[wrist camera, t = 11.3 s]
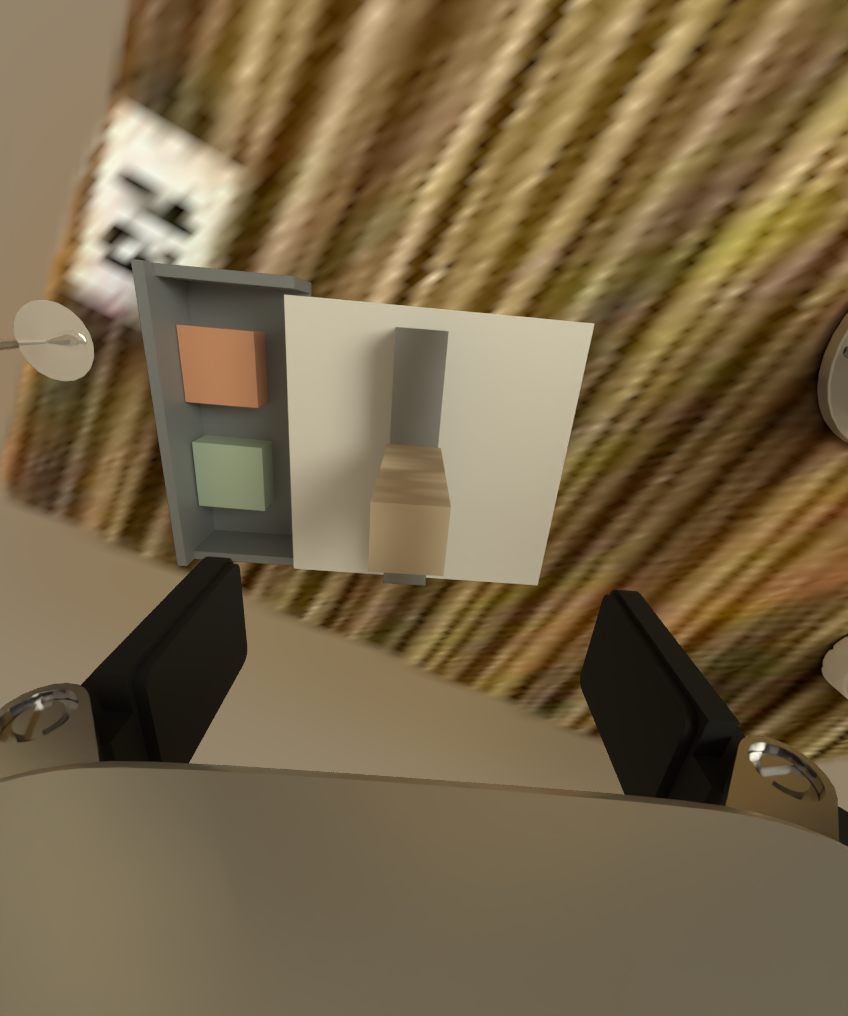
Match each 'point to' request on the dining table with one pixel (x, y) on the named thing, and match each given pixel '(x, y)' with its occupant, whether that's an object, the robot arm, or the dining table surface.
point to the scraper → (412, 466)
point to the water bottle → (837, 666)
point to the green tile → (233, 472)
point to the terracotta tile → (223, 365)
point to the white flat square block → (462, 437)
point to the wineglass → (52, 340)
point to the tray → (226, 304)
